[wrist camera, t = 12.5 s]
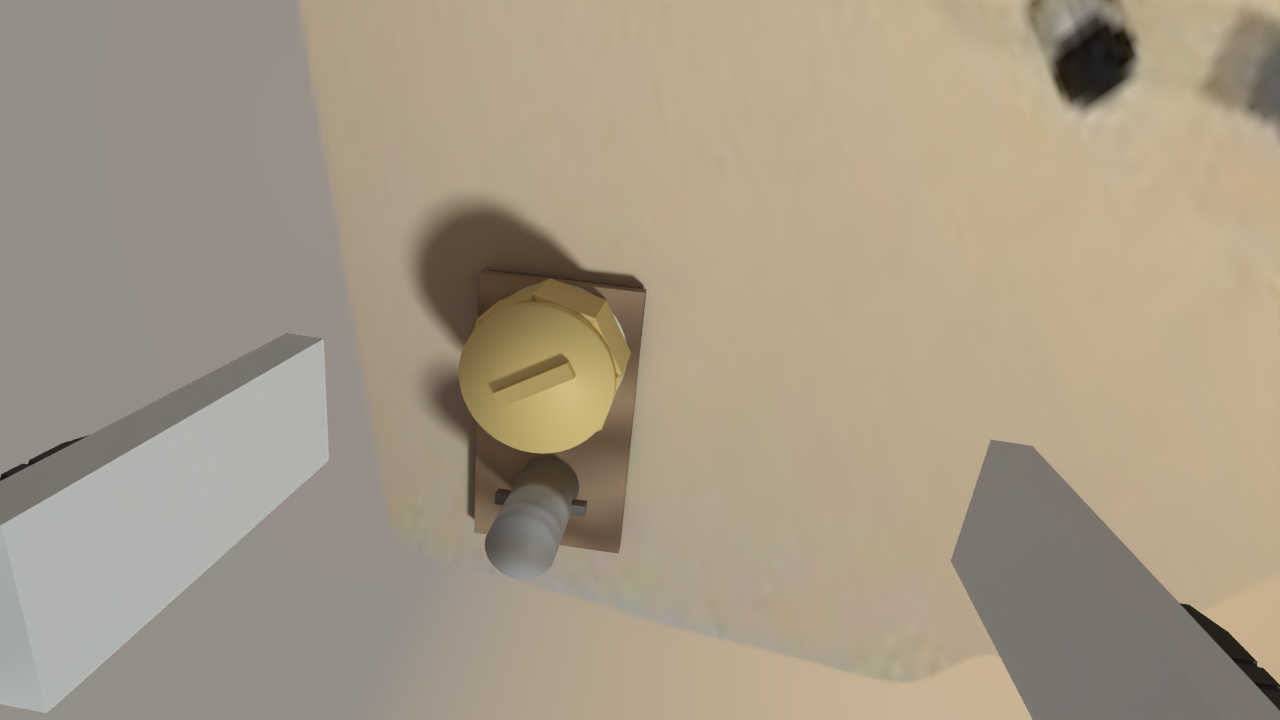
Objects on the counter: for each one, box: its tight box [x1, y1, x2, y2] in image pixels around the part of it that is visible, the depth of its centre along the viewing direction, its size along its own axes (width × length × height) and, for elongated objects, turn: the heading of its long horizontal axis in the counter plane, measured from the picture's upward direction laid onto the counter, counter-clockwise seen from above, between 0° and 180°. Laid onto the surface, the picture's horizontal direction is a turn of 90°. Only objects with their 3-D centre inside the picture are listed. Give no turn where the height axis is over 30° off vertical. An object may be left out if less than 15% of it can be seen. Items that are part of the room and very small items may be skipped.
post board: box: [474, 270, 646, 579], centre depth 45 cm, size 20×11×9 cm, turn 175°
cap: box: [459, 278, 631, 454], centre depth 43 cm, size 9×9×6 cm
